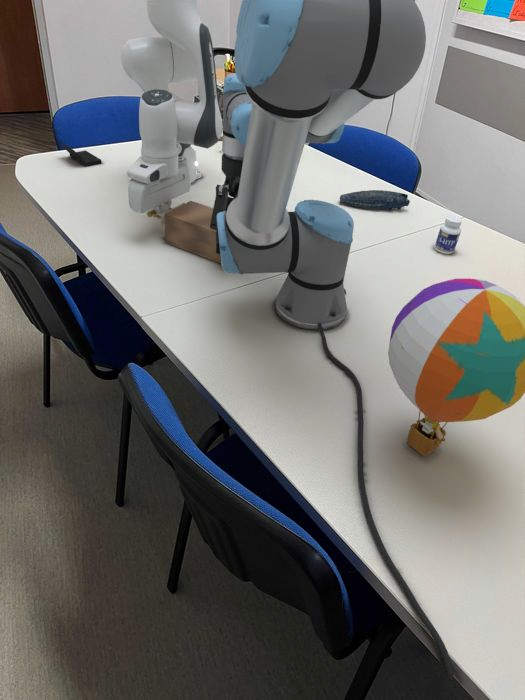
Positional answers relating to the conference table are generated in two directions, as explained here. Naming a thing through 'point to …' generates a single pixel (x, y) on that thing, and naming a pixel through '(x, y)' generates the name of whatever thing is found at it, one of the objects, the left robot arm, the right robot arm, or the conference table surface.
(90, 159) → the black handled piece
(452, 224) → the pill bottle
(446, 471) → the conference table surface
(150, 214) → the drawer
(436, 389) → the toy
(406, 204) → the fish model
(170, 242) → the cabinet
